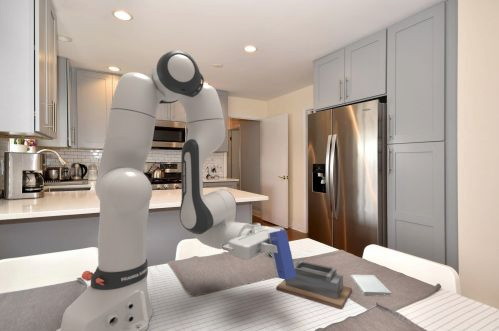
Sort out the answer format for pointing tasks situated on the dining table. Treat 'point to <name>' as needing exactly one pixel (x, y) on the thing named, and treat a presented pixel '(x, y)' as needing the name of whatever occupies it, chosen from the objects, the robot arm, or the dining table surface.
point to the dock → (315, 296)
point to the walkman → (282, 255)
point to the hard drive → (370, 285)
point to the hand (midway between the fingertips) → (283, 247)
